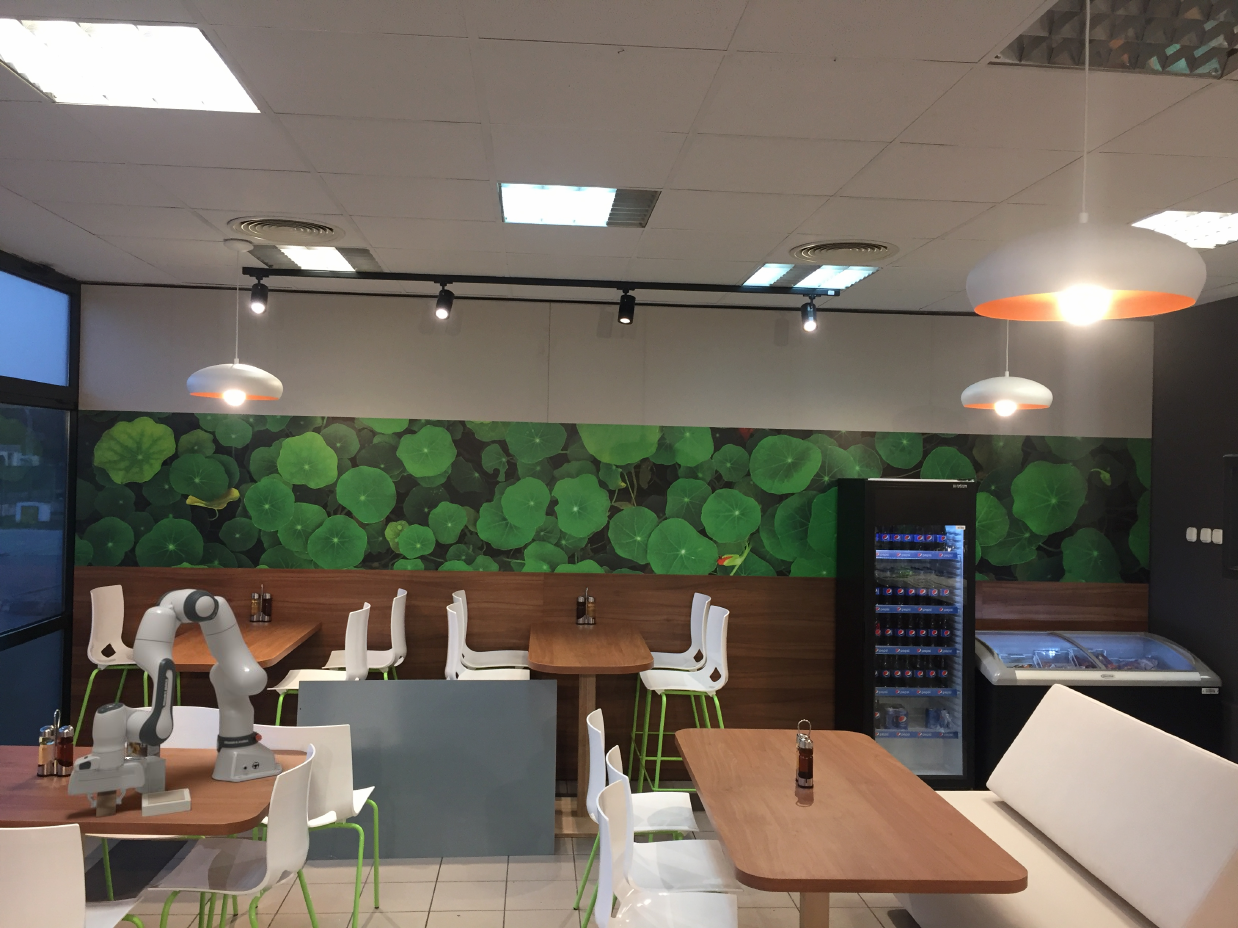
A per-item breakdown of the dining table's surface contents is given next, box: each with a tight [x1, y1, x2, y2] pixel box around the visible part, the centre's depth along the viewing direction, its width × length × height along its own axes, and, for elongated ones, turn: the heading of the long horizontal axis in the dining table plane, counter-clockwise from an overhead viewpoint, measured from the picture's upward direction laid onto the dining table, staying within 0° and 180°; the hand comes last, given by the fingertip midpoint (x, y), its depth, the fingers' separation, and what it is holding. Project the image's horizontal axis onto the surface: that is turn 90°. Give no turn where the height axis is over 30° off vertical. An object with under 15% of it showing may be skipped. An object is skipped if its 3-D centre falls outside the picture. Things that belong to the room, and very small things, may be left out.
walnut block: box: [95, 790, 118, 818], centre depth 263 cm, size 5×5×6 cm
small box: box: [135, 756, 167, 795], centre depth 283 cm, size 8×6×10 cm
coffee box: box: [125, 741, 161, 758], centre depth 301 cm, size 9×6×16 cm
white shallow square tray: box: [141, 788, 192, 818], centre depth 269 cm, size 13×13×3 cm
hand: (106, 805), depth 263 cm, fingers closed on walnut block, 5 cm apart
